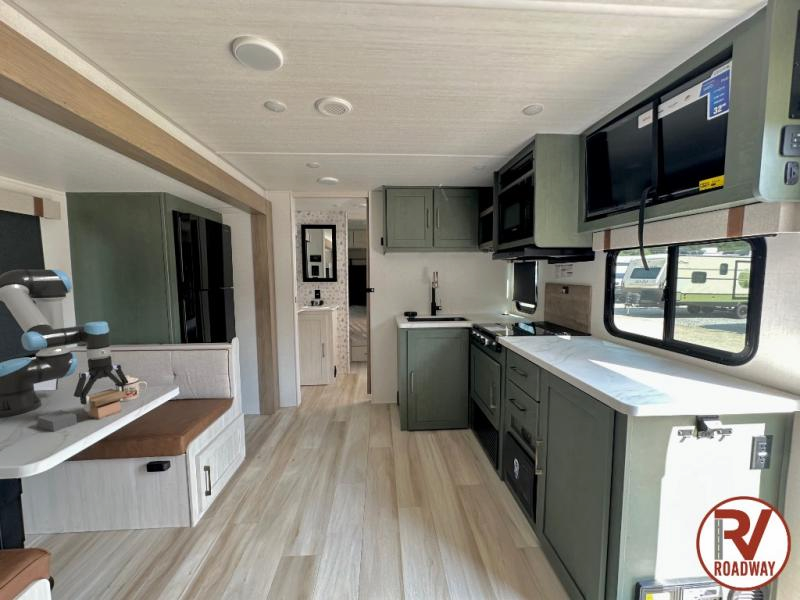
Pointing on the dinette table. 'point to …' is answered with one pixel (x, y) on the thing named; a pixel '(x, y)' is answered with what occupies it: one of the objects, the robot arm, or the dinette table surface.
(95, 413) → the pink hollow square box
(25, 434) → the dinette table surface
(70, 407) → the dinette table surface
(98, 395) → the lid
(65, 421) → the gray rectangular block
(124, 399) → the teacup with lid
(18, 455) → the dinette table surface
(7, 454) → the dinette table surface
